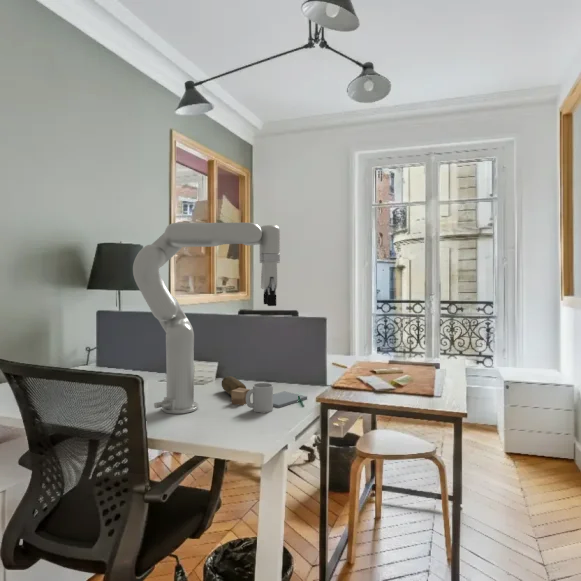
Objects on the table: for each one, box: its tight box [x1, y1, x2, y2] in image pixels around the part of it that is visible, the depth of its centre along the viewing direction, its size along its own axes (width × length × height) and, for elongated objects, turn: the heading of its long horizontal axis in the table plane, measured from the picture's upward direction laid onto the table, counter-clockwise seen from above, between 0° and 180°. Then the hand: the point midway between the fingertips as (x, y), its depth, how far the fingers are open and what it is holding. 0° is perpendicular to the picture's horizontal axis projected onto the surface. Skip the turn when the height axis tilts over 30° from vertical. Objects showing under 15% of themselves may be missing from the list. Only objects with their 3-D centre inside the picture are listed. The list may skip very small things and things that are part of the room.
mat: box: [273, 390, 308, 409], centre depth 176 cm, size 16×12×1 cm
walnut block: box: [231, 388, 251, 406], centre depth 172 cm, size 5×5×5 cm
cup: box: [245, 382, 274, 414], centre depth 163 cm, size 7×10×9 cm
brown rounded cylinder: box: [221, 375, 247, 397], centre depth 184 cm, size 15×7×7 cm, turn 32°
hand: (269, 305), depth 170 cm, fingers open, 9 cm apart
